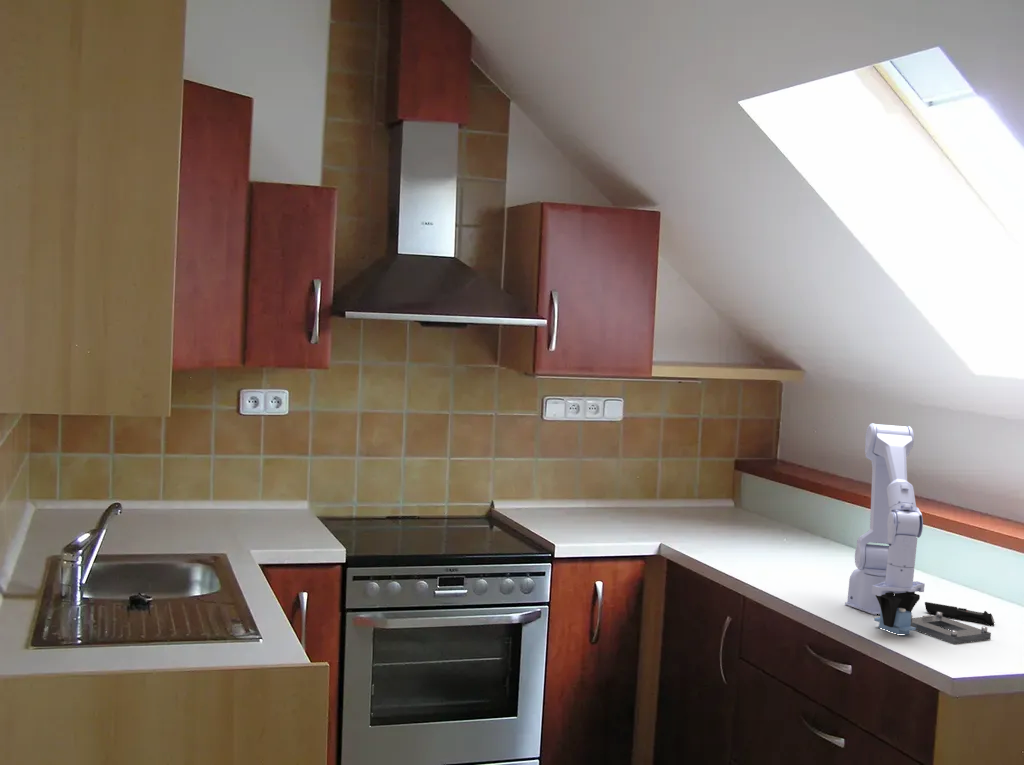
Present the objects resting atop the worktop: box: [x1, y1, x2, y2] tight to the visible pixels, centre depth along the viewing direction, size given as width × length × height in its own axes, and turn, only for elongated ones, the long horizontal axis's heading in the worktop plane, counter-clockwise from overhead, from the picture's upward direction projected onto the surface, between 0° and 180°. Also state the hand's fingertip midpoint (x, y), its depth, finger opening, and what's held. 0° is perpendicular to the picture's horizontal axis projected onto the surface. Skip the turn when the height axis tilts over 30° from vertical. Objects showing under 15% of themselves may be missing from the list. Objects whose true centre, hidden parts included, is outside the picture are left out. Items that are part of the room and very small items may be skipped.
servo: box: [873, 608, 916, 634], centre depth 246 cm, size 8×4×6 cm, turn 30°
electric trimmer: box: [924, 601, 996, 627], centre depth 262 cm, size 4×16×3 cm, turn 62°
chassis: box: [910, 612, 992, 645], centre depth 248 cm, size 14×12×2 cm
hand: (894, 625), depth 246 cm, fingers closed on servo, 3 cm apart
